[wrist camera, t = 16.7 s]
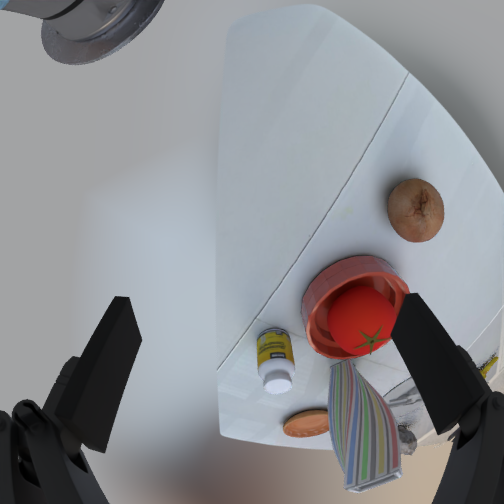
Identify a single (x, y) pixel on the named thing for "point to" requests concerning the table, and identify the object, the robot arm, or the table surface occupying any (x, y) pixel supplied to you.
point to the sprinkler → (488, 367)
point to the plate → (404, 398)
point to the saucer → (307, 424)
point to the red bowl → (334, 285)
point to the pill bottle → (275, 361)
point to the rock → (407, 441)
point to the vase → (362, 430)
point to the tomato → (361, 320)
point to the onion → (415, 210)
